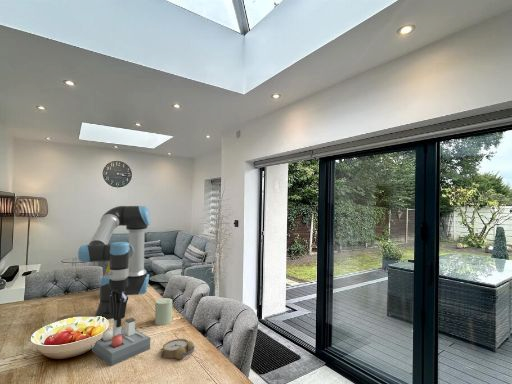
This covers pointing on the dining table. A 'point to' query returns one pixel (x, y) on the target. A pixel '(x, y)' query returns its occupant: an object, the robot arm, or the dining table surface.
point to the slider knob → (129, 326)
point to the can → (163, 311)
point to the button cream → (107, 335)
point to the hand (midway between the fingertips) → (116, 334)
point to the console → (122, 347)
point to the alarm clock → (177, 348)
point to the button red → (116, 341)
